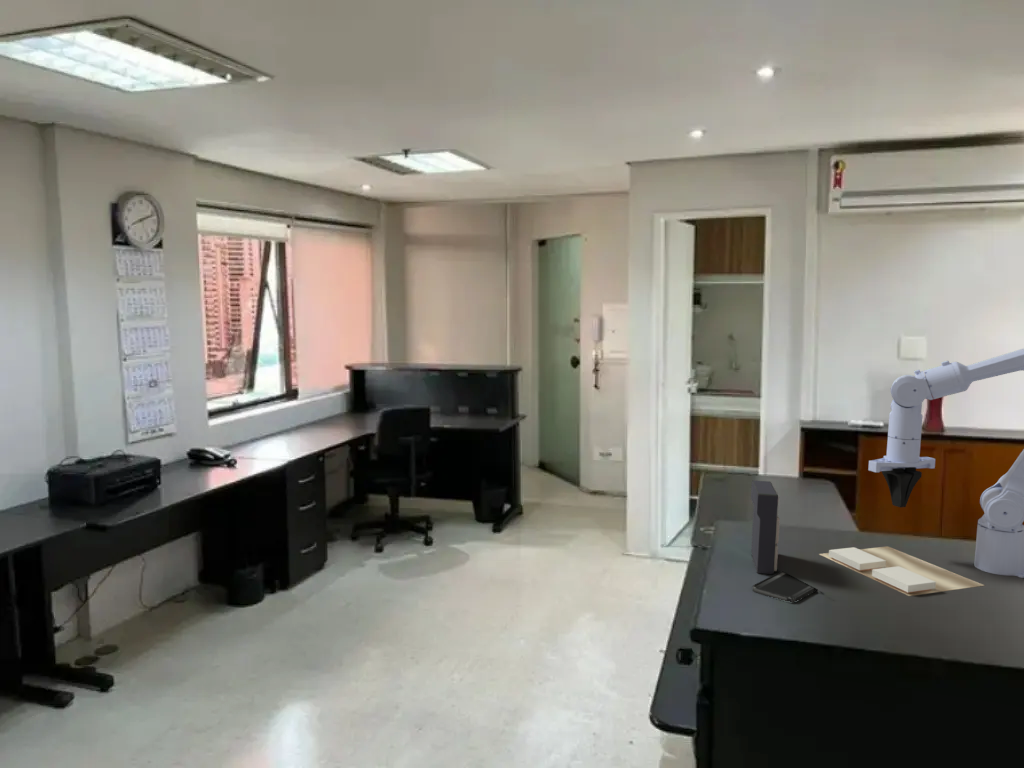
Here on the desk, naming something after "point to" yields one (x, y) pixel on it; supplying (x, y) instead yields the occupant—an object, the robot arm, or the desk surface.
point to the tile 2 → (903, 579)
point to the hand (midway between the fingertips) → (899, 505)
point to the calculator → (765, 526)
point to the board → (915, 570)
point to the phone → (783, 587)
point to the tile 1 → (857, 559)
